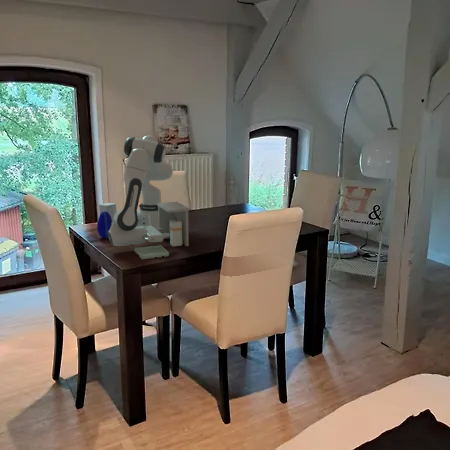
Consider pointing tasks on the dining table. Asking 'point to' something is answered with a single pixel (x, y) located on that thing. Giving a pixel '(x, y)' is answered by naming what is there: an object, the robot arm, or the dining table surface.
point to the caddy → (175, 232)
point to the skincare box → (108, 208)
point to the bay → (168, 213)
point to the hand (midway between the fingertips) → (166, 232)
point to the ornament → (104, 224)
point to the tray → (151, 252)
